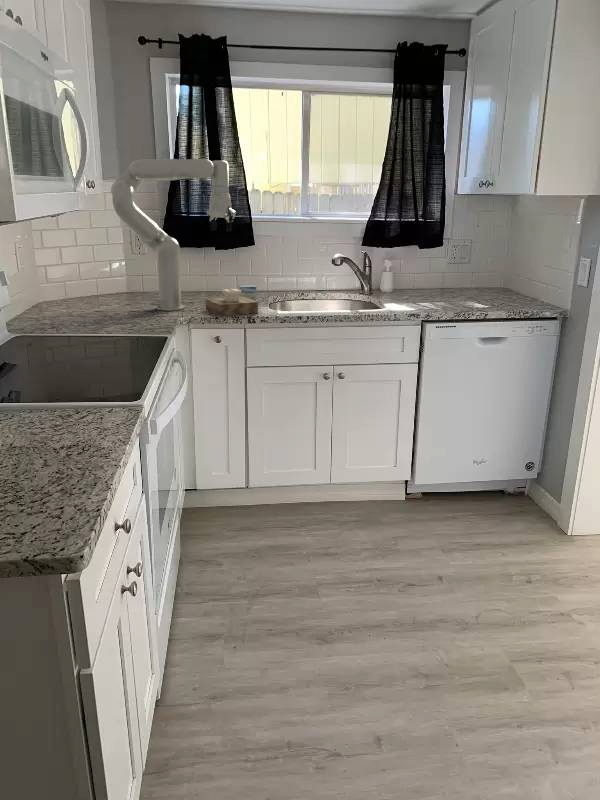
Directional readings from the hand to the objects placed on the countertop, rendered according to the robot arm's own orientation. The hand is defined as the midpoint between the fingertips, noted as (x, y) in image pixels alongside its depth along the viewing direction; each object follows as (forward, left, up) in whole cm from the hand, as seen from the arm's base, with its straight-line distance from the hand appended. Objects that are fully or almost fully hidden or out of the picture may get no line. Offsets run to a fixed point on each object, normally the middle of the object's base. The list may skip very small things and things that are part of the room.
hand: (221, 230), depth 275 cm
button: (-2, -14, -30) cm, 34 cm away
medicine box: (+13, +1, -34) cm, 37 cm away
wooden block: (-2, -14, -34) cm, 37 cm away
